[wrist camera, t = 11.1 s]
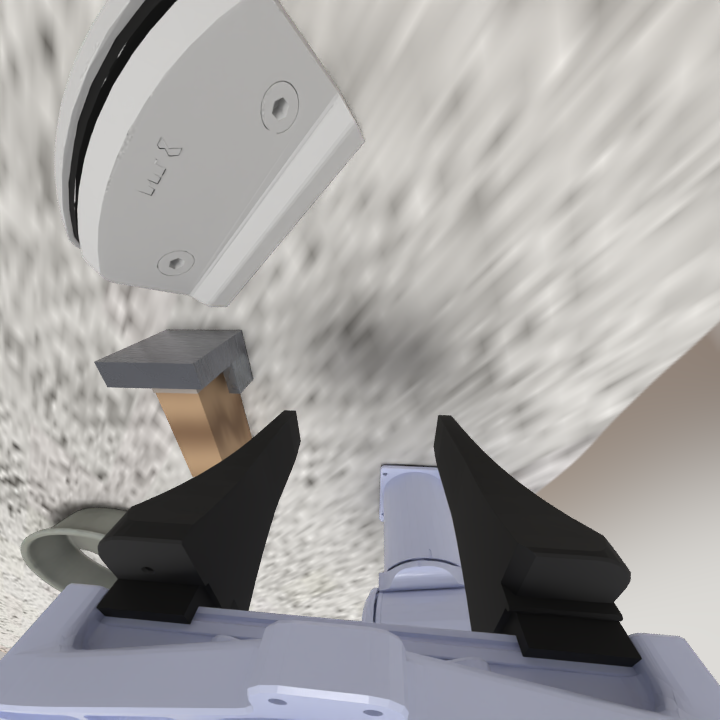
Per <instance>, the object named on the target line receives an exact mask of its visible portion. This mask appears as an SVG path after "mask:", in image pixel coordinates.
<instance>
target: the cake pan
mask: <svg viewBox="0 0 720 720" xmlns="http://www.w3.org/2000/svg"><path fill="white" fill-rule="evenodd" d="M126 512H127V511H122V510H117V509H110V508H89V509H83V510H80V511H77V512H75V513H73V514H72V515H70V516H69V517H67V518H66V519H64V520H63V521H61V522H60V523H58V524H57V525H55V526H53V527H52V528H50V529H44V530H40V531H37V532H35V533H33V534H31V535H29V536H28V537H26V538H25V539H24V541H23V542H22V544H21V555H22V557H23V560H24V561H25V563H26V564H27V566H28V567H29V568H30V569H31V570H32V571H33V572H34V573H35V574H36V575H37V576H38V577H40V578H41V579H42V580H43V581H45V582H46V583H47V584H49V585H50V586H52V587H54V588H55V589H57V590H59V591H60V592H62V591H63V590H64V589H65V588H66V586H67V585H69V584H71V583H75V584H87V585H98V586H103V587H105V588H108V589H109V590H110V588H111V587H112V586H113V584H114V583H115V582H116V580H117V577H116V576H115V575H114V574H113V573H112V571H111V570H109V569H107V568H105V567H103V566H102V565H100V564H98V563H97V562H95V561H93V560H92V559H90V558H89V557H88V556H86V555H85V554H84V553H83V552H82V551H81V550H80V549H83V550H87V551H91V552H94V553H95V554H98V547H97V546H98V544H99V542H100V541H101V540H102V538H103V537H104V536H105V535H106V534H107V533H108V532H109V531H110V530H111V529H112V528H113V526H114V525H115V524H116V523H117V522H118V521H119V520H120V519H121V518H122V517H123V515H124V514H125V513H126Z"/></svg>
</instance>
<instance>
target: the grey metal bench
mask: <svg viewBox="0 0 720 720" xmlns="http://www.w3.org/2000/svg"><path fill="white" fill-rule="evenodd" d="M94 363H95V364H96V366H97V368H98V370H99V372H100V374H101V376H102V378H103V379H104V381H105V383H106V385H107V387H119V388H158V389H197V390H202V389H203V388H204V387H205V386H207V385H208V384H209V383H210V382H211V381H212V380H213V379H215V378H216V377H217V376H218V375H219V374H220V373H222V372H223V373H224V377H225V380H226V384H227V387H228V390H229V393H231V394H240V393H241V392H242V391H243V390H244V389H245V388H246V387H247V386H248V384H249V383H250V382H251V381H252V380H253V377H252V373H251V369H250V364H249V360H248V356H247V352H246V347H245V343H244V339H243V335H242V330H165V331H163V332H160V333H158V334H156V335H154V336H151V337H149V338H147V339H145V340H142V341H140V342H138V343H136V344H133V345H131V346H129V347H127V348H124V349H122V350H120V351H118V352H115V353H113V354H111V355H109V356H106V357H104V358H102V359H100V360H97V361H95V362H94Z"/></svg>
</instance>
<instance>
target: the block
mask: <svg viewBox="0 0 720 720" xmlns="http://www.w3.org/2000/svg"><path fill="white" fill-rule="evenodd" d="M152 390H153V392H154V393H156V395H157V397H158V399H159V401H160V404H161V406H162V408H163V411H164V413H165V415H166V417H167V420H168V422H169V424H170V426H171V429H172V431H173V433H174V435H175V438H176V440H177V442H178V445H179V447H180V449H181V451H182V454H183V456H184V458H185V460H186V463H187V465H188V467H189V469H190V472H191V474H192V476H193V477H196V476H198V475H199V474H201V473H203V472H204V471H206V470H208V469H209V468H211V467H213V466H214V465H216V464H218V463H219V462H221V461H222V460H224V459H225V458H227V457H228V456H230V455H231V454H232V453H234V452H235V451H237V450H238V449H239V448H241V447H242V446H243V445H244V444H246V443H247V442H248V441H249V440H251V439H252V437H251V433H250V429H249V426H248V422H247V418H246V414H245V411H244V407H243V403H242V400H241V396H240V394H231V393H229V390H228V387H227V384H226V380H225V377H224V373H223V372H222V373H220V374H219V375H218V376H217V377H216V378H215V379H213V380H212V381H211V382H210V383H209V384H208V385H207V386H205V387H204V388H203V389H202V390H197V389H158V388H152Z"/></svg>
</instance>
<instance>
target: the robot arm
mask: <svg viewBox="0 0 720 720" xmlns="http://www.w3.org/2000/svg"><path fill="white" fill-rule="evenodd" d="M300 442H301V440H300V434H299V427H298V421H297V415H296V411H288V410H284V411H283V412H282V413H281V414H280V415H278V416H277V417H276V418H275V419H274V420H273V421H272V422H271V423H270V424H268V425H267V426H266V427H265V428H264V429H263V430H262V431H260V432H259V433H258V434H257V435H256V436H254V437H253V438H252V439H251V440H249V441H248V442H247V443H246V444H244V445H243V446H242V447H241V448H239V449H238V450H237V451H235V452H234V453H232V454H231V455H230V456H228V457H227V458H225V459H224V460H222V461H221V462H219V463H218V464H216V465H214V466H213V467H211V468H209V469H208V470H206V471H204V472H203V473H201V474H199V475H198V476H196V477H194V478H192V479H190V480H188V481H187V482H185V483H183V484H181V485H179V486H177V487H175V488H173V489H171V490H169V491H167V492H164V493H162V494H160V495H158V496H156V497H153V498H151V499H149V500H146V501H144V502H142V503H140V504H137V505H135V506H132V507H131V508H130V509H129V510H128V511H127V512H126V513H125V514H124V515H123V517H122V518H121V519H120V520H119V521H118V522H117V523H116V524H115V525H114V526H113V528H112V529H111V530H110V531H109V532H108V533H107V534H106V535H105V536H104V537H103V538H102V540H101V541H100V542H99V544H98V546H97V547H98V555H99V556H100V558H101V559H102V561H103V562H104V563H105V564H106V565H107V567H108V568H109V569H110V570H111V571H112V573H113V574H114V575H115V576H116V577H117V580H116V582H115V583H114V584H113V586H112V587H111V588H110V590H109V589H108V588H105V587H103V586H98V585H87V584H75V583H71V584H69V585H67V586H66V588H65V589H64V590H63V591H62V592H61V593H60V594H59V595H58V597H57V598H56V599H55V600H54V601H53V602H52V603H51V604H50V605H49V607H48V608H47V609H46V610H45V611H44V612H43V613H42V614H41V616H40V617H39V618H38V619H37V620H36V621H35V622H34V623H33V625H32V626H31V627H30V628H29V629H28V630H27V631H26V632H25V633H24V635H23V636H22V637H21V638H20V639H19V640H18V641H17V642H16V644H15V645H14V646H13V647H12V648H11V649H10V650H9V651H8V653H7V654H6V655H5V656H4V657H3V658H2V660H0V720H720V685H719V684H718V683H717V681H716V680H715V679H714V677H713V676H712V675H711V673H710V672H709V671H708V670H707V668H706V667H705V665H704V664H703V663H702V661H701V660H700V659H699V658H698V656H697V655H696V653H695V652H694V651H693V649H692V648H691V647H690V645H689V644H688V643H687V641H686V640H685V639H684V638H682V637H680V636H671V635H660V634H659V635H658V634H647V633H635V634H631V635H629V636H628V635H627V633H626V632H625V630H624V629H623V627H622V625H621V624H620V622H619V621H622V620H623V617H622V614H621V613H620V611H619V610H618V608H617V606H616V605H615V603H614V601H615V600H616V599H617V598H618V597H619V596H620V595H621V593H622V592H623V591H624V590H625V589H626V588H627V586H628V584H629V582H630V579H631V577H630V576H631V572H630V571H629V569H628V568H627V566H626V565H625V563H624V562H623V561H622V559H621V558H620V556H619V555H618V554H617V552H616V551H615V550H614V549H613V547H612V546H611V545H610V543H609V542H608V541H607V540H606V538H605V537H604V536H603V535H601V534H599V533H598V532H596V531H594V530H592V529H591V528H589V527H587V526H585V525H583V524H582V523H580V522H578V521H577V520H575V519H573V518H571V517H570V516H568V515H566V514H564V513H563V512H562V511H560V510H558V509H557V508H555V507H553V506H552V505H550V504H549V503H547V502H546V501H544V500H543V499H542V498H540V497H539V496H537V495H536V494H534V493H533V492H532V491H530V490H529V489H527V488H526V487H525V486H523V485H522V484H521V483H519V482H518V481H517V480H515V479H514V478H513V477H512V476H511V475H509V474H508V473H507V472H506V471H505V470H503V469H502V468H501V467H500V466H499V465H498V464H496V463H495V462H494V461H493V460H492V459H491V458H490V457H489V456H488V455H487V454H486V453H485V452H484V451H483V450H482V449H481V448H480V447H479V446H478V445H477V444H476V443H475V442H474V441H473V440H472V439H471V438H470V437H469V435H468V434H467V433H466V432H465V431H464V430H463V429H462V428H461V426H460V425H459V424H458V423H457V422H456V421H455V420H454V418H453V417H452V416H449V415H438V420H437V427H436V434H435V441H434V451H435V458H436V463H437V468H435V467H413V466H391V465H383V466H382V467H381V473H380V513H379V519H380V520H381V521H383V522H384V572H383V573H379V588H373V589H372V590H371V592H370V594H369V596H368V598H367V599H366V602H365V605H364V609H363V615H362V621H352V620H341V619H330V618H319V617H308V616H297V615H286V614H275V613H264V612H253V611H249V606H250V602H251V598H252V594H253V590H254V585H255V581H256V577H257V574H258V570H259V566H260V562H261V558H262V554H263V551H264V547H265V544H266V540H267V537H268V533H269V530H270V526H271V523H272V520H273V517H274V513H275V510H276V507H277V505H278V502H279V499H280V497H281V494H282V492H283V490H284V487H285V485H286V482H287V480H288V477H289V475H290V473H291V470H292V468H293V465H294V463H295V460H296V457H297V453H298V449H299V446H300Z"/></svg>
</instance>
